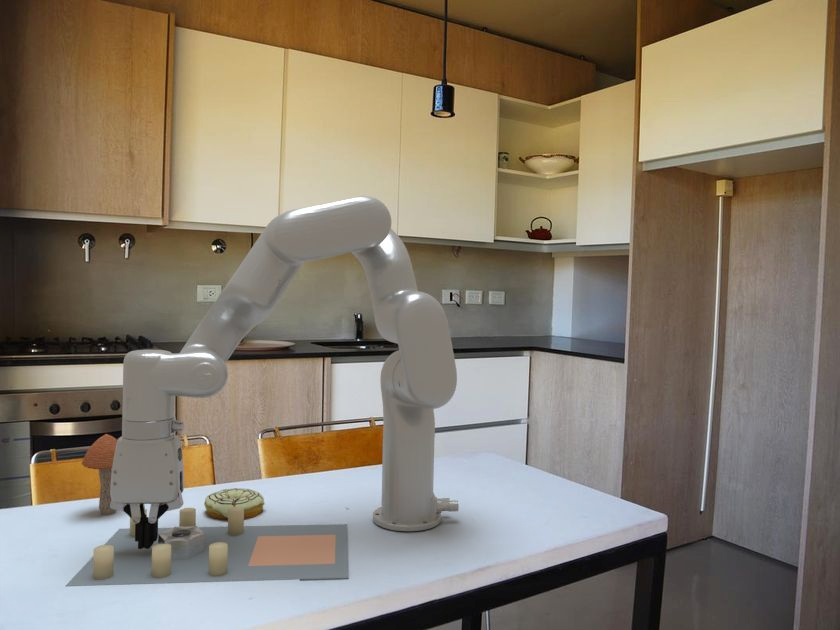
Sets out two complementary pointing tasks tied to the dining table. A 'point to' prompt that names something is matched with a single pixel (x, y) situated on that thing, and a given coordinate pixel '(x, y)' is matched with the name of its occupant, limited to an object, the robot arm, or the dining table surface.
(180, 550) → the hex nut
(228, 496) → the decorated donut
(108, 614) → the dining table surface
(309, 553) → the spacer board
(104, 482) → the mushroom
